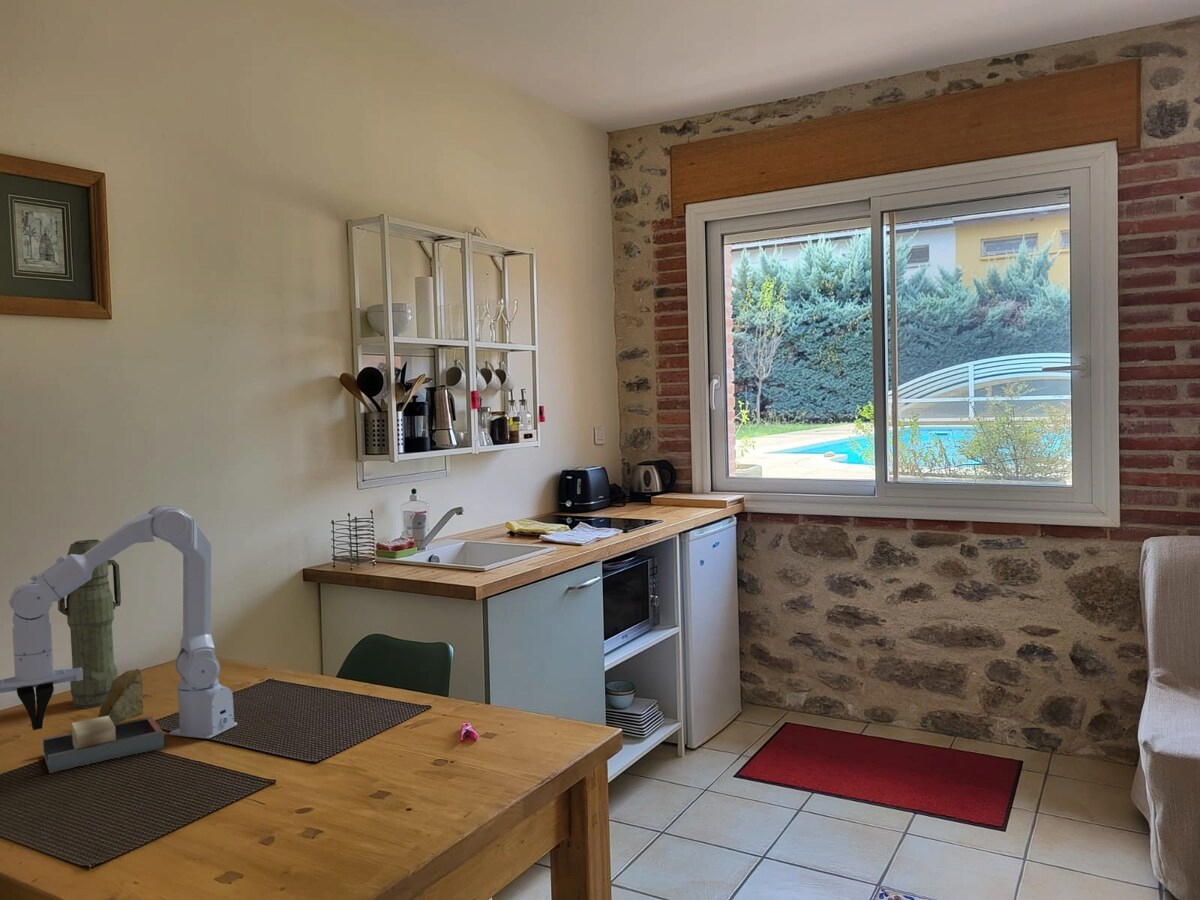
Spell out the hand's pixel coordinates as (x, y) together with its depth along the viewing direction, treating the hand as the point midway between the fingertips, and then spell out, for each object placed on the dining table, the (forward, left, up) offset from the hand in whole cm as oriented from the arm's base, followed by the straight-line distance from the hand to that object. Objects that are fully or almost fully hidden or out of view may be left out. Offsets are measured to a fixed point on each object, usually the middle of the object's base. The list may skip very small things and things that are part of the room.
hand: (37, 728), depth 157 cm
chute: (-6, -8, -7) cm, 12 cm away
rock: (+6, -24, -7) cm, 25 cm away
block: (-5, -7, -5) cm, 10 cm away
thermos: (+21, -32, -7) cm, 39 cm away
